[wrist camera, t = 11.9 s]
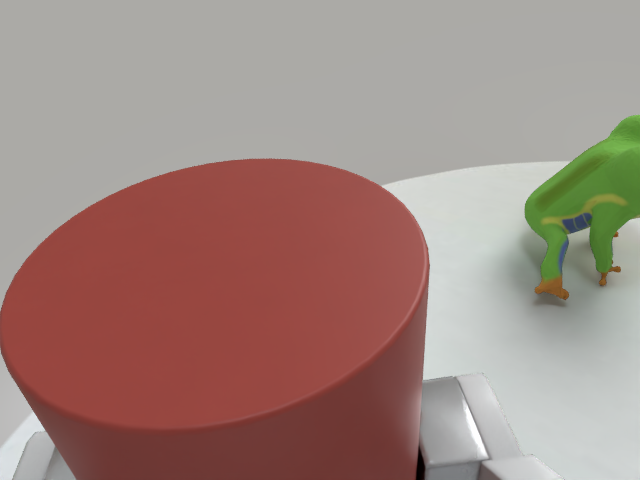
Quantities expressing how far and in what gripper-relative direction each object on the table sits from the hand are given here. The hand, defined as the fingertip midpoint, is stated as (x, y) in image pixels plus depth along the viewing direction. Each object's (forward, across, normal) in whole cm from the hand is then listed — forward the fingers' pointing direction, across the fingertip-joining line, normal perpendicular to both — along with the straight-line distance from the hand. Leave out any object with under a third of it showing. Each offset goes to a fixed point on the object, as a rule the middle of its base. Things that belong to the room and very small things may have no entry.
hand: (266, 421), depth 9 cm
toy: (+23, -22, +17) cm, 36 cm away
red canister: (-1, 0, +6) cm, 6 cm away
